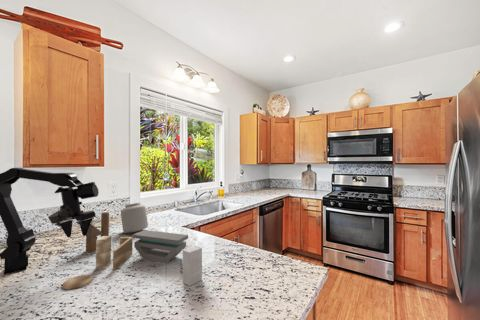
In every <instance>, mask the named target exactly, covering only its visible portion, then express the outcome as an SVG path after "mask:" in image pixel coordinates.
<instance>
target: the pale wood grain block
mask: <svg viewBox="0 0 480 320" xmlns="http://www.w3.org/2000/svg"><path fill="white" fill-rule="evenodd" d="M111 259H112V235H109V236H102V237H101V236H100V237H99V238H97V240H96V251H95V269H96V270H102V269H103V270H105V269H106V268H107V267H108V266H109V265H111V264H112V263H111V261H112V260H111Z"/></svg>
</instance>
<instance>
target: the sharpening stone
mask: <svg viewBox="0 0 480 320" xmlns="http://www.w3.org/2000/svg"><path fill="white" fill-rule="evenodd" d="M132 238H133V239H138V240H135V241H133V242H134V244H133V245H134V249H135V250H136V251H137V253H138V254H139V255H140V257H141V258H142V259H143V261H147V262H153V263H158V262H159V263H158V264H164V263H165V264H167V263H168V262H170V261H171V260H173V259H174V258H176V257H177V256H178V255H179V254H180V253H181V252H183V250H185V249H186V247H187V242H186V240H188V239H189V235H188V234H181V233H174V232H167V231H165V232H164V231H157V230H147V229H143V230H140V231H137V232H135V233H133V234H132Z"/></svg>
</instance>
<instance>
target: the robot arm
mask: <svg viewBox="0 0 480 320" xmlns="http://www.w3.org/2000/svg"><path fill="white" fill-rule="evenodd" d="M19 179H24V180H25V179H27V180H33V181H40V182H47V183H50V184H53V185H56V186H58V188H57V189H56V190H54V194H58V193H60V195H61V201H62V205H60V206H59V210H57V211H54V212H53V213H52V214H50V215H49V216H48V217H47V218H48V219H49V221H50V223H51V224H52V225H53V224H54V225H55V226H57V227H60V228H61V229H62V231H63V232H64V234H65V236H66V237H67V238H70V237H71V236H72V231H73V222H74V221H73V220H76V222H75V223H76V224H78V225H79V227H80V231H81V233H82V236H83V237H86V234H87V231H88V229H89V226H90V224H92V220H94V218H95V217H96V215H97V214H96V212H95V211H94V210H87V211H84V210H82V209H81V205H82V204H83V201H80V199H81V200H85V199H91V198H96V197H99V188H98V186H97V184H96V182H95V181H90V182H88V183H84V182H82V181H81V180H80V179H79V178H78V175H77V174H76V173H74V172H48V171H41V170H35V169H27V168H22V167H11V168H9V169H7V170H6V171H4V172H1V173H0V219H1V221H2V223H3V225H4V227H5V230H6V232H7V236H6V241H5V242H6V248H4V249H3V250H2V252H0V259H1V260H4V267H3V268H4V269H3V275H8V274H14V273H17V272H21V271H26V270H27V268H28V267H29V254H28V253H27V252H29V251H30V250H31V248H32V247H33V246H34V245H35V243H36V238H37V236H36V235H35V233H34V229H33V228H30V229H27V228H25V226H24V224H23V222H22V219H21V218H20V215H19V213H18V211H17V208H16V206H15V204H14V201H13V199H12V197H11V194H12V190H13V189H12V185H14V184H15V183H16V182H18V180H19Z"/></svg>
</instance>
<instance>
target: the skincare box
mask: <svg viewBox="0 0 480 320" xmlns="http://www.w3.org/2000/svg"><path fill="white" fill-rule="evenodd" d="M202 280H203V249H202V247H199V246H197V245H193V246H191V247H188V248H184V249H183V250H182V283H183V284H185V285H187V286H188V287H191V286H192V285H195V284H196V283H198V282H200V281H202Z"/></svg>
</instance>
